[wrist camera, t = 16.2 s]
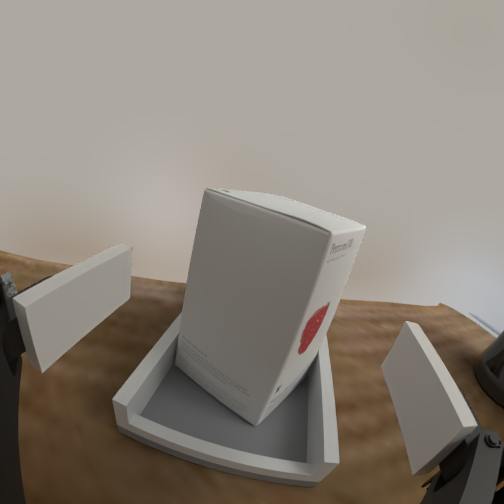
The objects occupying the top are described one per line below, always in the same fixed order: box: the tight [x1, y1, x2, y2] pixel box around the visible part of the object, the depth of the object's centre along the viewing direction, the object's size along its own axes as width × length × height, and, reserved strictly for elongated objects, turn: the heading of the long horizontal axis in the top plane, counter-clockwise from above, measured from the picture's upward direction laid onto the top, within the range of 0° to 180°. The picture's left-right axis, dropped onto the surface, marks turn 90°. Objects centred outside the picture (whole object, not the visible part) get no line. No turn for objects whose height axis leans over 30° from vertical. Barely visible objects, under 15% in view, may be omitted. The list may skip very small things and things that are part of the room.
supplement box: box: [175, 188, 366, 426], centre depth 20 cm, size 9×9×15 cm
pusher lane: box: [112, 312, 339, 487], centre depth 23 cm, size 22×14×7 cm, turn 171°
